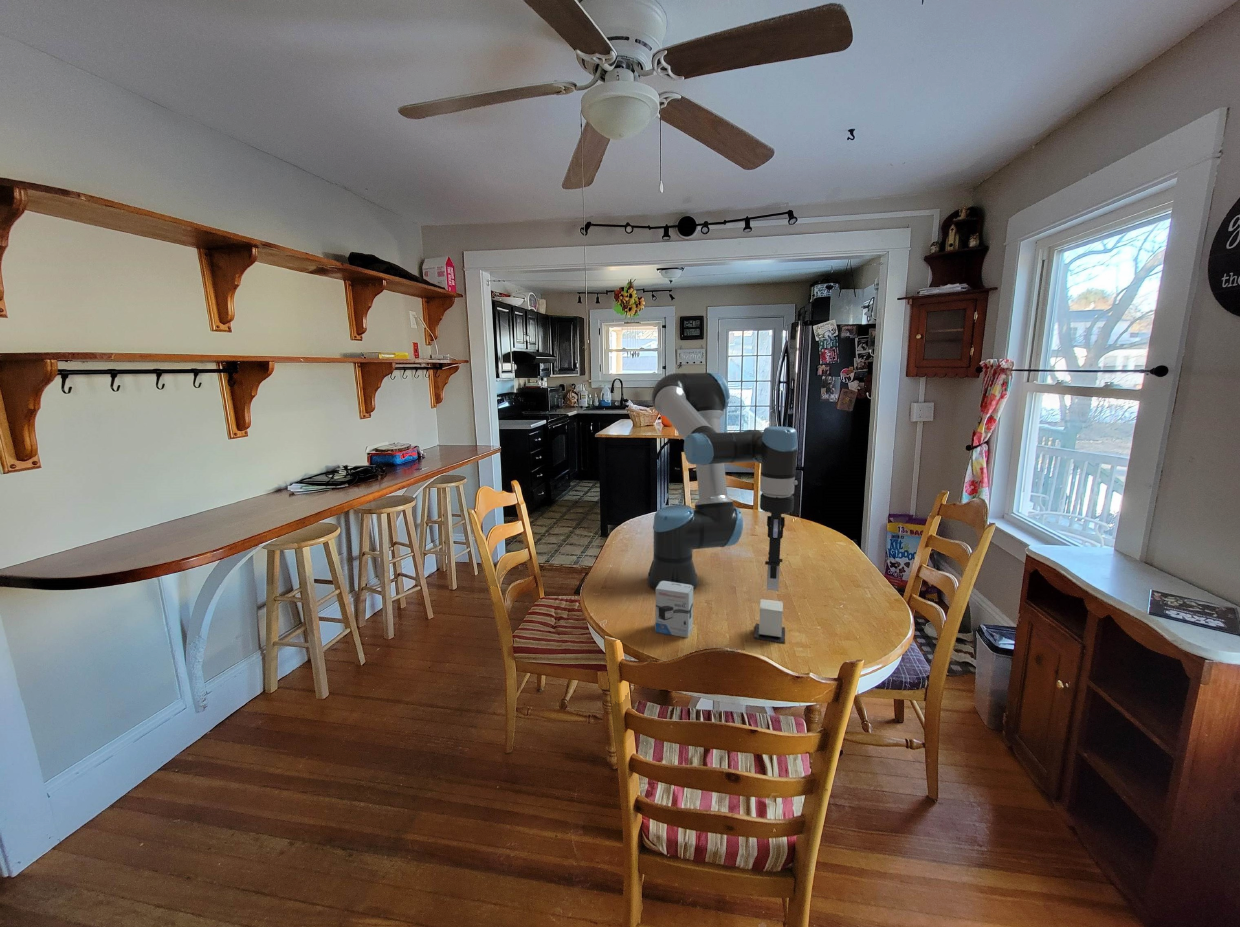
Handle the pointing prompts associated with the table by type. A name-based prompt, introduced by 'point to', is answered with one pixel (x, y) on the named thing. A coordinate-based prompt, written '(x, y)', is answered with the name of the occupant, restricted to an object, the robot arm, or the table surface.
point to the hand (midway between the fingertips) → (772, 589)
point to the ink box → (674, 608)
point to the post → (769, 636)
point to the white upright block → (771, 617)
